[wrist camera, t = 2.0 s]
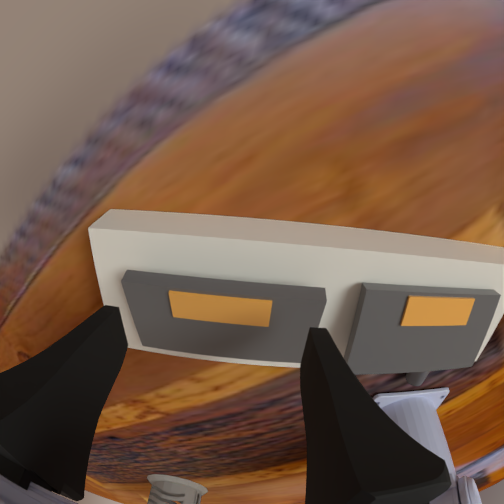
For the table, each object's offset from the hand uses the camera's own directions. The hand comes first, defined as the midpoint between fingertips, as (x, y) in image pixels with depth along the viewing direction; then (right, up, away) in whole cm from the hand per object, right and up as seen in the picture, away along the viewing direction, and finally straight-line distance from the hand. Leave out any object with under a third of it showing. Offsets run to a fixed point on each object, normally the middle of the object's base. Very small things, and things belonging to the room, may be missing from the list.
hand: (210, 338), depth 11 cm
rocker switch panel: (+6, 0, +7) cm, 9 cm away
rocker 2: (+11, -1, +3) cm, 12 cm away
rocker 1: (0, 0, +4) cm, 3 cm away
